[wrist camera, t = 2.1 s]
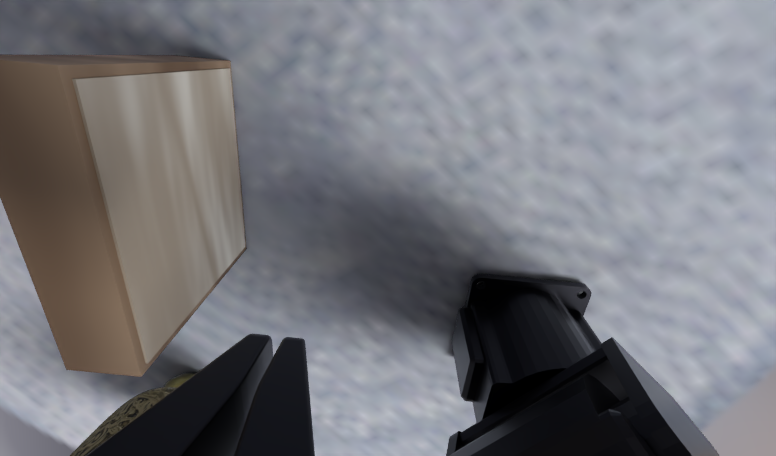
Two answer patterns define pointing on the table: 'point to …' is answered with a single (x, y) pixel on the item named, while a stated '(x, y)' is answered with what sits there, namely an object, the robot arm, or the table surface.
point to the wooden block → (120, 196)
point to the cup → (128, 414)
